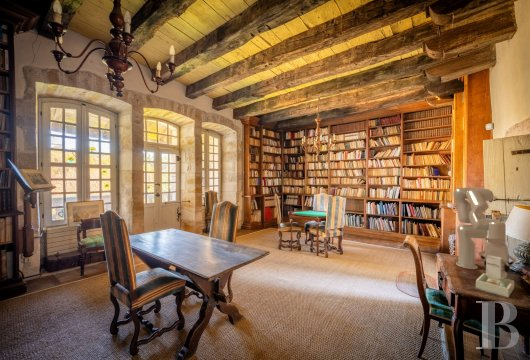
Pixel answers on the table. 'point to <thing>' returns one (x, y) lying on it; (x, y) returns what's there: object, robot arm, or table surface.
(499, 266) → the supplement box
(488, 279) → the maple cube
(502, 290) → the tote
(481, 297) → the table surface
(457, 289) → the table surface
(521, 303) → the table surface
